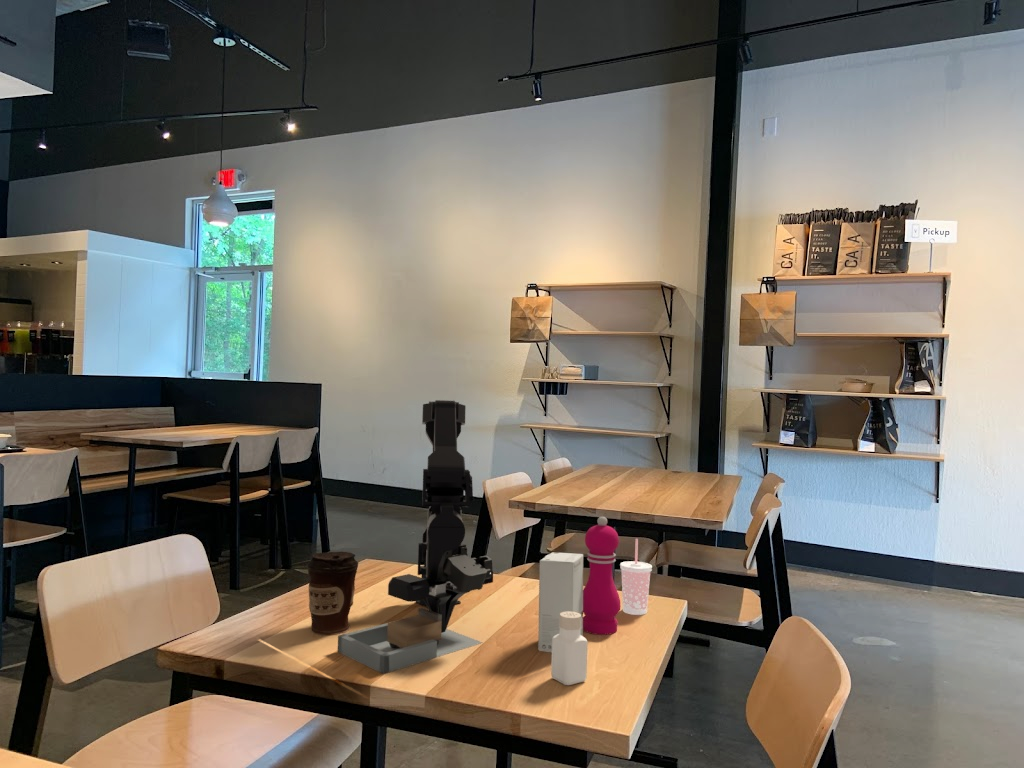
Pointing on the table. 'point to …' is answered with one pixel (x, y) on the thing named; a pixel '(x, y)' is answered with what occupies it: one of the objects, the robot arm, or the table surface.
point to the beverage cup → (635, 585)
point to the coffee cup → (331, 591)
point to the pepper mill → (601, 581)
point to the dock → (397, 648)
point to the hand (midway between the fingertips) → (441, 632)
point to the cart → (415, 629)
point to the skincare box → (558, 593)
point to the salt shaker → (569, 651)
